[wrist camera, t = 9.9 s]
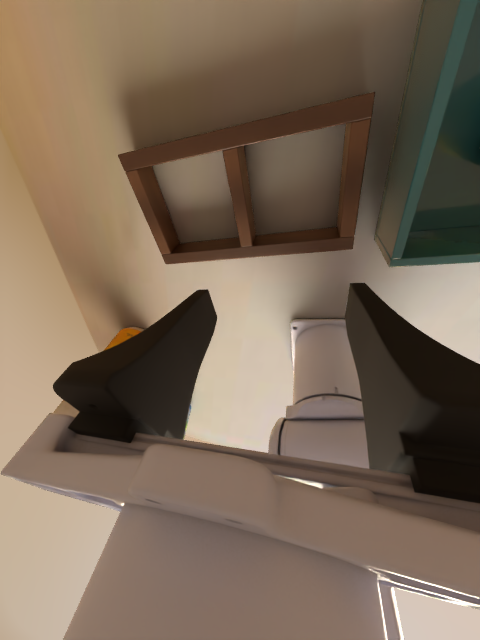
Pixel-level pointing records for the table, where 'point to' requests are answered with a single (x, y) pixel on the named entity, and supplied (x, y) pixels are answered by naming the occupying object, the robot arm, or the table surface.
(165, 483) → the robot arm
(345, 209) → the frame
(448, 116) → the tray
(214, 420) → the table surface
